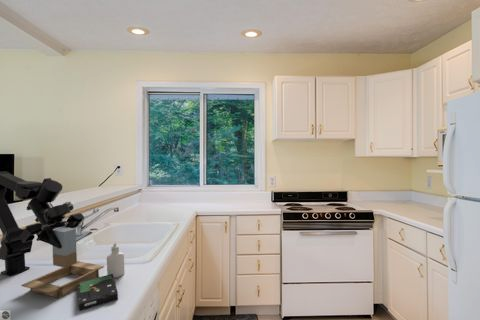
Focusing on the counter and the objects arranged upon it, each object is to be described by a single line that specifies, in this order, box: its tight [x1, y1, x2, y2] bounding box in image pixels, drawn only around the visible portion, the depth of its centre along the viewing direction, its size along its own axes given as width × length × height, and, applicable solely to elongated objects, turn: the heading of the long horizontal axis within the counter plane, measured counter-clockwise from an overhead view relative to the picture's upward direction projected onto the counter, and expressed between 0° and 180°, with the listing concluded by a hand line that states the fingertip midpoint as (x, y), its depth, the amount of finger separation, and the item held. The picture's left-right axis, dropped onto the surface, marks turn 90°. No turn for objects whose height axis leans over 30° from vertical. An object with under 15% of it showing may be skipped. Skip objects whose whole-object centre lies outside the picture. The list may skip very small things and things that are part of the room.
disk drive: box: [78, 274, 119, 312], centre depth 82 cm, size 10×3×15 cm
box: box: [52, 227, 78, 268], centre depth 88 cm, size 6×4×12 cm, turn 69°
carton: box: [20, 260, 105, 299], centre depth 89 cm, size 14×19×3 cm
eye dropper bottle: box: [106, 242, 126, 279], centre depth 94 cm, size 4×6×12 cm
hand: (67, 245), depth 88 cm, fingers closed on box, 4 cm apart
